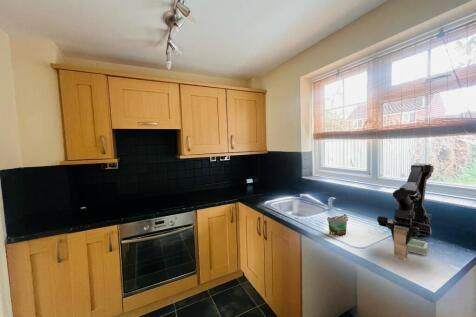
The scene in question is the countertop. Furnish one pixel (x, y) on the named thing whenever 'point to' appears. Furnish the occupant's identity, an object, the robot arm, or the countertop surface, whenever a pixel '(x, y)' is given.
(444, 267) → the countertop surface
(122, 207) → the countertop surface
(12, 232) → the countertop surface
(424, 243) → the end cap
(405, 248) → the slat
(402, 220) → the robot arm
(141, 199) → the countertop surface
